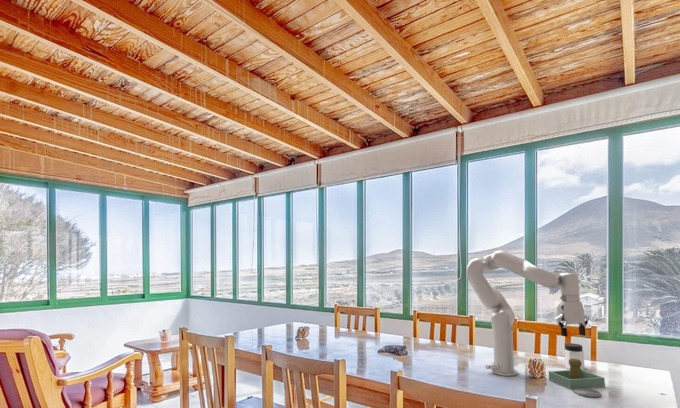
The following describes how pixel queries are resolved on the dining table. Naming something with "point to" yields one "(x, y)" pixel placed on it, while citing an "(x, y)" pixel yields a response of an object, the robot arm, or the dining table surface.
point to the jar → (574, 354)
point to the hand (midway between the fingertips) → (573, 335)
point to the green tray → (587, 381)
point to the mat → (587, 392)
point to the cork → (575, 369)
